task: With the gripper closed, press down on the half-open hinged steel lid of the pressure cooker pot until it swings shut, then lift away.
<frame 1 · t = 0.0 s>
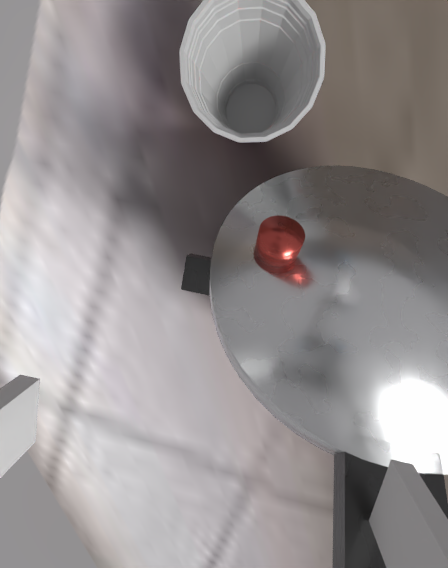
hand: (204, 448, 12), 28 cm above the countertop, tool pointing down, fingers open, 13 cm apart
plastic cup: (252, 113, 35), on the countertop
cooker pot: (306, 277, 38), on the countertop
cooker lid: (384, 305, 17), point 21 cm above the countertop, hinge at 45.0°, touching gripper
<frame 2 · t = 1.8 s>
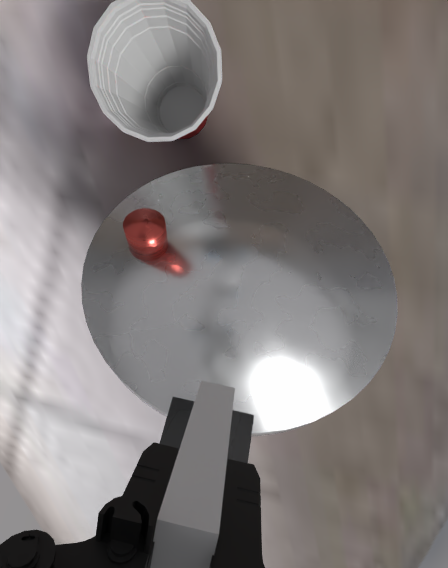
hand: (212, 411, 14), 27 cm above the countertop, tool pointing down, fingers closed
plastic cup: (185, 113, 37), on the countertop
cooker lid: (237, 289, 19), point 21 cm above the countertop, hinge at 44.8°, touching gripper
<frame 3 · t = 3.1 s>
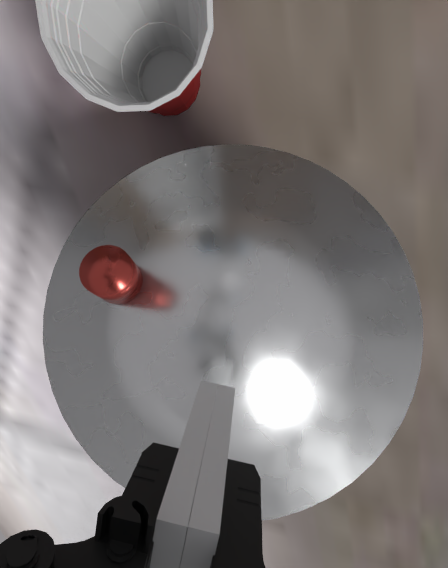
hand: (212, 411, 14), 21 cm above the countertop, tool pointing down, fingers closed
plastic cup: (172, 85, 31), on the countertop
cooker lid: (225, 344, 16), point 19 cm above the countertop, hinge at 28.6°, touching gripper
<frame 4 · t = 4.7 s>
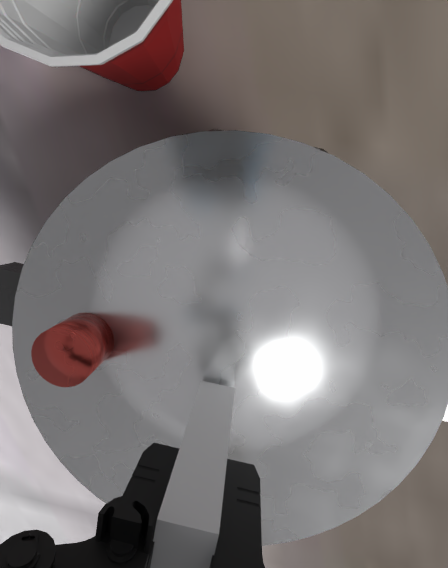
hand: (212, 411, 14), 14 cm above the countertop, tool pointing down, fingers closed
plastic cup: (149, 52, 24), on the countertop
cooker pot: (237, 290, 27), on the countertop
cooker lid: (212, 411, 14), point 14 cm above the countertop, hinge at 0.8°, touching gripper
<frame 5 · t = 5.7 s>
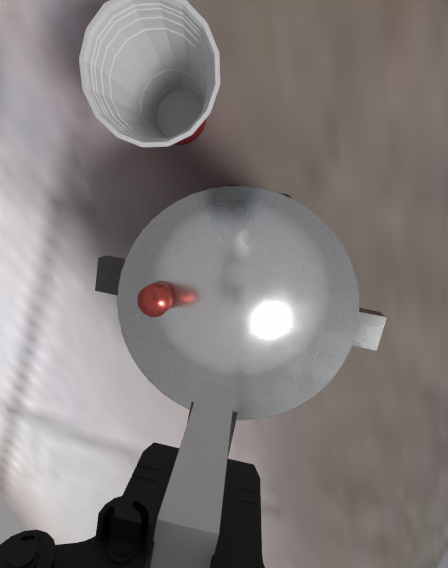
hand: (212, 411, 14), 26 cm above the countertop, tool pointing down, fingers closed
plastic cup: (182, 118, 36), on the countertop
cooker pot: (241, 279, 39), on the countertop
cooker lid: (229, 335, 26), point 14 cm above the countertop, hinge at 0.7°
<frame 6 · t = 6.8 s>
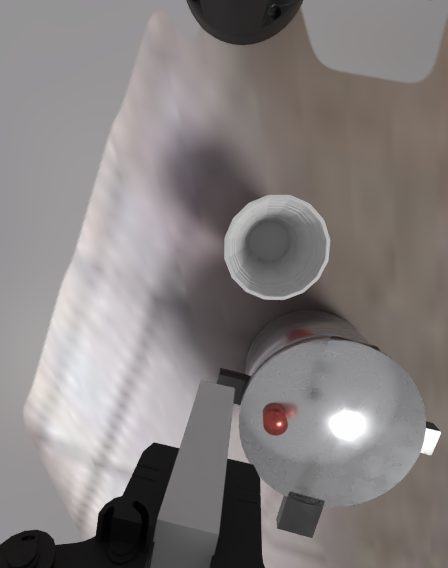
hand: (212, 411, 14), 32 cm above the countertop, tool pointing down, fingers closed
plastic cup: (269, 242, 44), on the countertop
cooker pot: (307, 369, 47), on the countertop
cooker lid: (325, 446, 34), point 14 cm above the countertop, hinge at 0.7°
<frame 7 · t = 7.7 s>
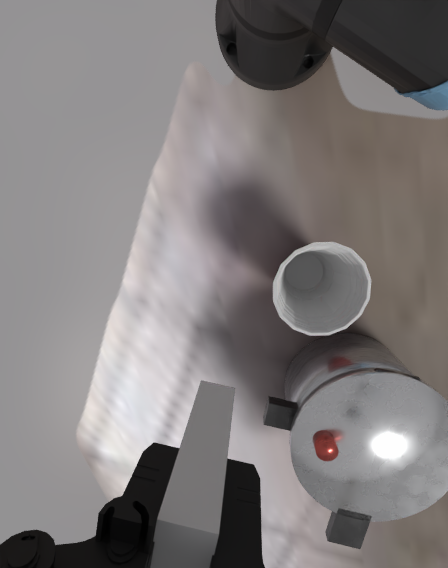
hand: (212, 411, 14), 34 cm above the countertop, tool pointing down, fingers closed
plastic cup: (305, 272, 47), on the countertop
cooker pot: (343, 388, 50), on the countertop
cooker lid: (371, 467, 37), point 14 cm above the countertop, hinge at 0.7°
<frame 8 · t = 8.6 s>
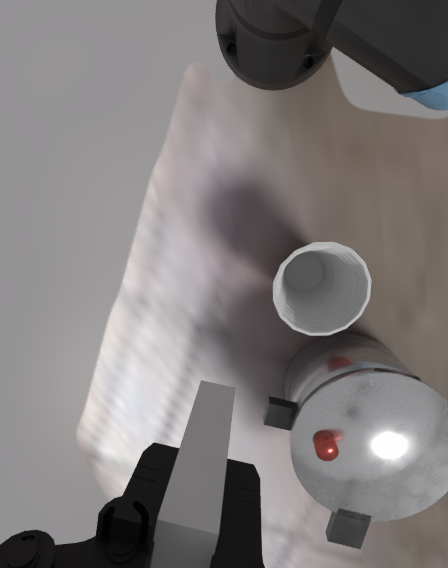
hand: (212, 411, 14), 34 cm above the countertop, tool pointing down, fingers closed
plastic cup: (305, 272, 47), on the countertop
cooker pot: (343, 388, 50), on the countertop
cooker lid: (371, 467, 37), point 14 cm above the countertop, hinge at 0.7°
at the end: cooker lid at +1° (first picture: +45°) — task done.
